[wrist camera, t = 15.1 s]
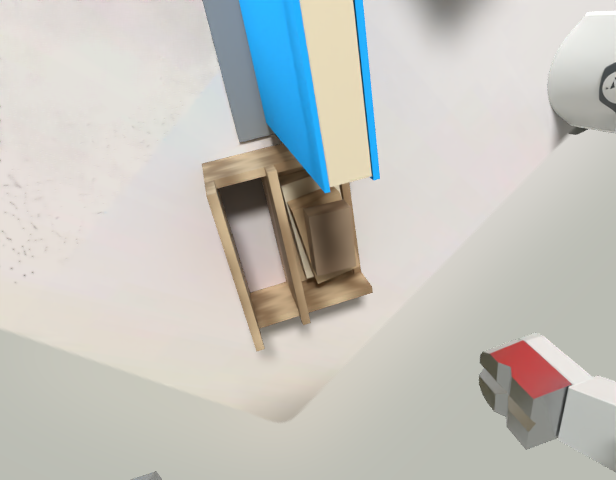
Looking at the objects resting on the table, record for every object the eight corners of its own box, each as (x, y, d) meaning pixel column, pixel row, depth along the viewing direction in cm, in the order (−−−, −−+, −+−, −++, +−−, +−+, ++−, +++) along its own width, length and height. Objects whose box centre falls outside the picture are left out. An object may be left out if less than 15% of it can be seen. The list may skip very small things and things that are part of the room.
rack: (334, 130, 52) (368, 153, 42) (354, 267, 62) (384, 309, 53) (201, 163, 49) (206, 195, 40) (244, 300, 60) (256, 351, 50)
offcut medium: (331, 184, 51) (339, 192, 48) (352, 255, 56) (360, 266, 54) (286, 202, 50) (292, 211, 48) (311, 271, 56) (318, 283, 53)
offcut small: (343, 199, 49) (351, 207, 47) (349, 256, 53) (356, 266, 50) (303, 208, 48) (308, 217, 46) (311, 266, 52) (317, 276, 50)
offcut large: (328, 161, 52) (335, 168, 50) (347, 251, 59) (354, 261, 57) (276, 178, 52) (280, 185, 49) (301, 267, 59) (307, 278, 56)
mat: (286, -78, 41) (286, -78, 41) (318, 122, 51) (319, 122, 51) (186, -61, 40) (186, -61, 39) (239, 141, 49) (239, 142, 49)
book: (297, 115, 49) (385, 181, 28) (262, 123, 49) (325, 197, 27) (266, -58, 41) (357, -152, 20) (223, -51, 40) (270, -139, 19)
